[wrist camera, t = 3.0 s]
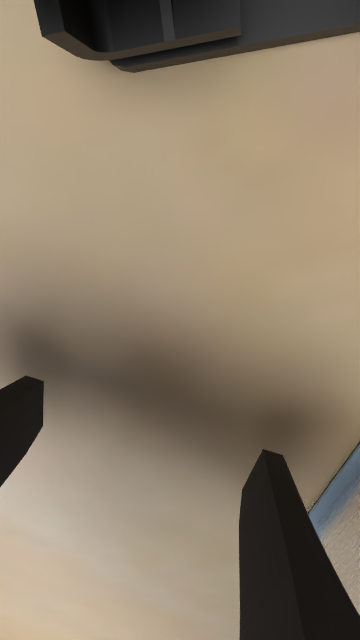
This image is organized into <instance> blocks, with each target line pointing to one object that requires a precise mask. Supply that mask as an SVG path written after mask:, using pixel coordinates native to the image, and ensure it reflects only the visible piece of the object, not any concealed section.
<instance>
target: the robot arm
mask: <svg viewBox="0 0 360 640" xmlns="http://www.w3.org/2000/svg"><path fill="white" fill-rule="evenodd" d="M43 391H44V381H42V380H39V379H35V378H32V377H29V376H24V377H23V378H21V379H19V380H17V381H15V382H13V383H11V384H9V385H7V386H6V387H4V388H2V389H0V487H1V486H2V484H3V483H4V482H5V481H6V479H7V478H8V477H9V475H10V474H11V473H12V471H13V470H14V469H15V468H16V466H17V465H18V464H19V462H20V461H21V460H22V458H23V457H24V456H25V454H26V453H27V451H28V450H29V448H30V446H31V445H32V443H33V442H34V440H35V438H36V437H37V435H38V433H39V432H40V430H41V428H42V427H43ZM239 568H240V640H360V615H359V613H358V612H357V610H356V608H355V606H354V605H353V603H352V601H351V599H350V597H349V596H348V594H347V592H346V590H345V588H344V586H343V584H342V583H341V581H340V579H339V577H338V575H337V573H336V571H335V569H334V567H333V565H332V563H331V561H330V559H329V557H328V555H327V553H326V551H325V549H324V547H323V545H322V543H321V541H320V539H319V537H318V535H317V533H316V530H315V528H314V526H313V524H312V522H311V520H310V518H309V515H308V513H307V511H306V509H305V506H304V504H303V502H302V499H301V497H300V495H299V493H298V490H297V488H296V485H295V483H294V481H293V478H292V476H291V473H290V471H289V468H288V466H287V463H286V461H285V459H284V457H283V455H280V454H277V453H274V452H271V451H268V450H264V449H263V450H262V452H261V454H260V456H259V458H258V460H257V462H256V464H255V466H254V468H253V470H252V471H251V473H250V475H249V477H248V479H247V481H246V483H245V485H244V487H243V489H242V498H241V507H240V519H239Z"/></svg>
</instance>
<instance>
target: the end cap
mask: <svg viewBox="0 0 360 640" xmlns="http://www.w3.org/2000/svg"><path fill="white" fill-rule="evenodd" d="M34 3H35V8H36V12H37V17H38V21H39V25H40V30H41V34H42V37H44V38H46V39H47V40H49V41H51V42H53V43H54V44H56V45H58V46H59V47H61V48H63V49H65V50H66V51H68V52H70V53H72V54H73V55H75V56H77V57H80V58H83V59H88V60H99V61H101V60H109V61H110V62H111V63H112V64H113V65H115V66H116V67H117V68H119V69H120V70H122V71H128V72H139V71H145V70H150V69H156V68H161V67H167V66H172V65H178V64H183V63H189V62H194V61H200V60H205V59H211V58H216V57H222V56H227V55H233V54H238V53H244V52H249V51H255V50H260V49H266V48H271V47H277V46H282V45H288V44H293V43H299V42H304V41H310V40H315V39H320V38H326V37H331V36H337V35H342V34H348V33H353V32H359V31H360V0H34Z"/></svg>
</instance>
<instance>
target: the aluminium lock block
mask: <svg viewBox="0 0 360 640" xmlns="http://www.w3.org/2000/svg"><path fill="white" fill-rule="evenodd" d="M318 527H319V532H320V538H321V543H322V545H323V547H324V549H325V551H326V553H327V555H328V557H329V559H330V561H331V563H332V565H333V567H334V569H335V571H336V573H337V575H338V577H339V579H340V581H341V583H342V584H343V586H344V588H345V590H346V592H347V594H348V596H349V597H350V599H351V601H352V603H353V605H354V606H355V608H356V610H357V612H358V613H359V615H360V470H359V471H358V473H357V474H356V475H355V476H354V478H353V479H352V480H351V482H350V483H349V484H348V485H347V487H346V488H345V489H344V491H343V492H342V493H341V494H340V496H339V497H338V498H337V500H336V501H335V502H334V503H333V505H332V506H331V507H330V509H329V510H328V511H327V512H326V514H325V515H324V516H323V518H322V519H321V520H320V521H319V523H318Z"/></svg>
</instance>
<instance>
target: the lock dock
mask: <svg viewBox="0 0 360 640" xmlns="http://www.w3.org/2000/svg"><path fill="white" fill-rule="evenodd" d="M359 470H360V444H359V445H358V446H357V448H356V449H355V450H354V452H353V453H352V455H351V456H350V457H349V459H348V460H347V461H346V463H345V464H344V466H343V467H342V468H341V470H340V471H339V472H338V474H337V475H336V476H335V478H334V479H333V481H332V482H331V483H330V485H329V486H328V487H327V489H326V490H325V491H324V493H323V494H322V496H321V497H320V498H319V500H318V501H317V502H316V504H315V505H314V507H313V508H312V509H311V511H310V512H309V513H308V515H309V518H310V520H311V522H312V524H313V526H314V528H315V530H316V533H317V535H318V537H319V539H320V541H321V538H320V532H319V527H318V523H319V521H320V520H321V519H322V518H323V516H324V515H325V514H326V512H327V511H328V510H329V509H330V507H331V506H332V505H333V503H334V502H335V501H336V500H337V498H338V497H339V496H340V494H341V493H342V492H343V491H344V489H345V488H346V487H347V485H348V484H349V483H350V482H351V480H352V479H353V478H354V476H355V475H356V474H357V473H358V471H359Z"/></svg>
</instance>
